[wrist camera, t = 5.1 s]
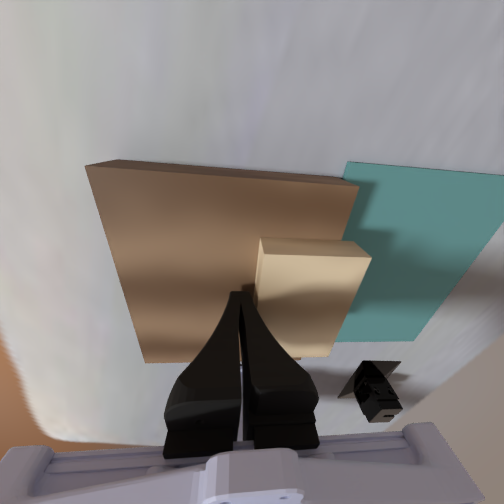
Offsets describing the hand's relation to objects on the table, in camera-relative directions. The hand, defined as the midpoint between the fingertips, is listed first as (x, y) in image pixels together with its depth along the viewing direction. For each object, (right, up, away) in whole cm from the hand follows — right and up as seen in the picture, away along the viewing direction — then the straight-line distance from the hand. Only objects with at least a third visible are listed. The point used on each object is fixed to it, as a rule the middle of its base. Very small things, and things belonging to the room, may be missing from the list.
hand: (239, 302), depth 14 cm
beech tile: (+4, 0, +1) cm, 4 cm away
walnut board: (-1, +2, +3) cm, 4 cm away
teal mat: (+13, +1, +5) cm, 14 cm away
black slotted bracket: (+17, -14, +15) cm, 27 cm away
